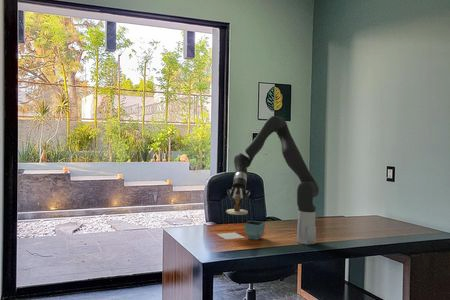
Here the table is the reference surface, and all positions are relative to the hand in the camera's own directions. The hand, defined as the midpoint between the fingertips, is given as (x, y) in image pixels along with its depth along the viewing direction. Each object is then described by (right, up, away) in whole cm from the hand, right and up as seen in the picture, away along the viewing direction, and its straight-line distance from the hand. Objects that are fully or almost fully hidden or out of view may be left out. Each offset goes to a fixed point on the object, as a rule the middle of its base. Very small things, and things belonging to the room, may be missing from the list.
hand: (236, 205), depth 212 cm
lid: (0, -5, +2) cm, 5 cm away
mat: (-4, -18, +3) cm, 19 cm away
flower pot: (+9, -19, 0) cm, 21 cm away
